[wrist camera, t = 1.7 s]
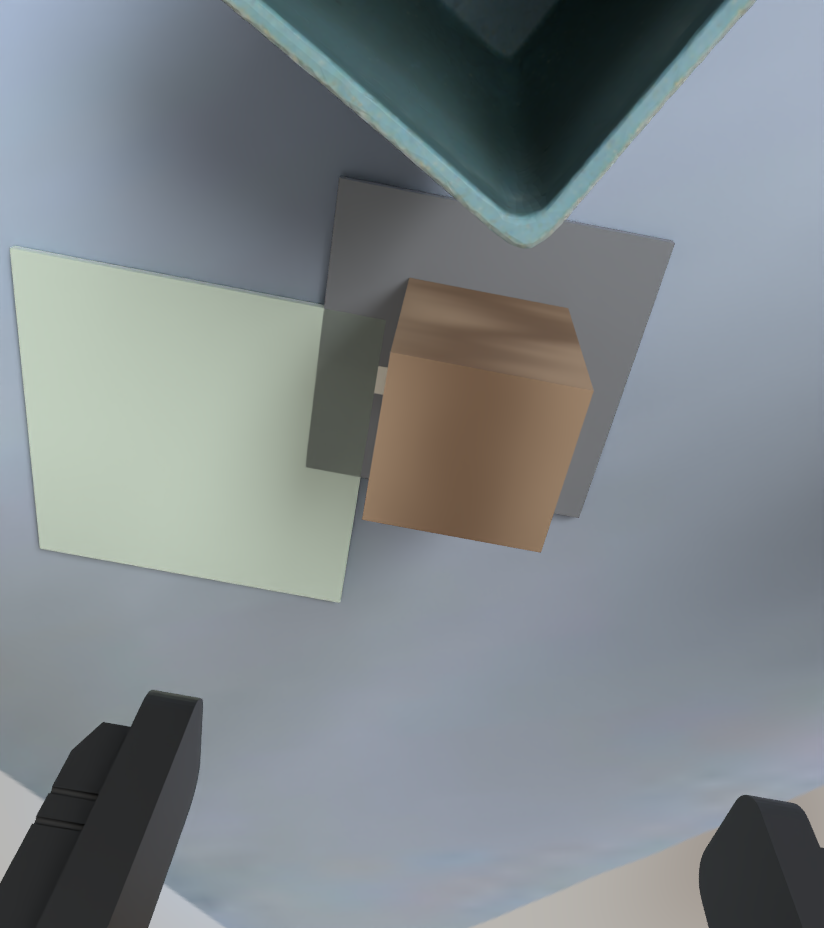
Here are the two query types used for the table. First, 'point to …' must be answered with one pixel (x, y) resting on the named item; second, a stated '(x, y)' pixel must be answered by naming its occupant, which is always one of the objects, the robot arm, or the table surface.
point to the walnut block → (477, 416)
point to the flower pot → (502, 86)
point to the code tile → (493, 271)
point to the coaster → (187, 424)
